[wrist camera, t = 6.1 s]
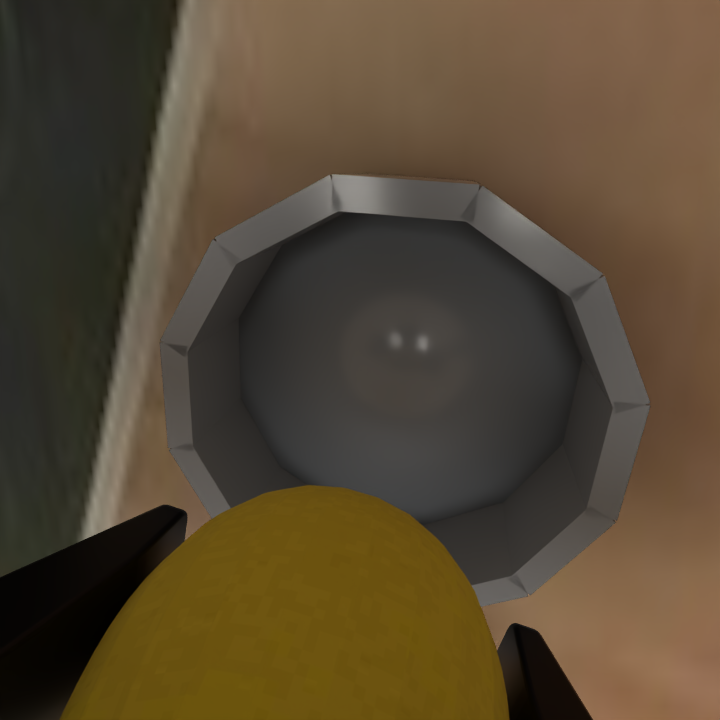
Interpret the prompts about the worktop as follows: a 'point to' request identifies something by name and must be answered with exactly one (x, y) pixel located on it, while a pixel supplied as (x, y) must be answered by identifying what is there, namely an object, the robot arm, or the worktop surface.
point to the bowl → (410, 371)
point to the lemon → (299, 623)
